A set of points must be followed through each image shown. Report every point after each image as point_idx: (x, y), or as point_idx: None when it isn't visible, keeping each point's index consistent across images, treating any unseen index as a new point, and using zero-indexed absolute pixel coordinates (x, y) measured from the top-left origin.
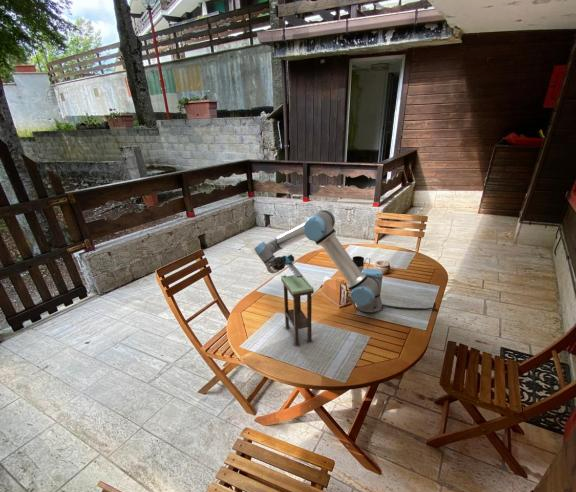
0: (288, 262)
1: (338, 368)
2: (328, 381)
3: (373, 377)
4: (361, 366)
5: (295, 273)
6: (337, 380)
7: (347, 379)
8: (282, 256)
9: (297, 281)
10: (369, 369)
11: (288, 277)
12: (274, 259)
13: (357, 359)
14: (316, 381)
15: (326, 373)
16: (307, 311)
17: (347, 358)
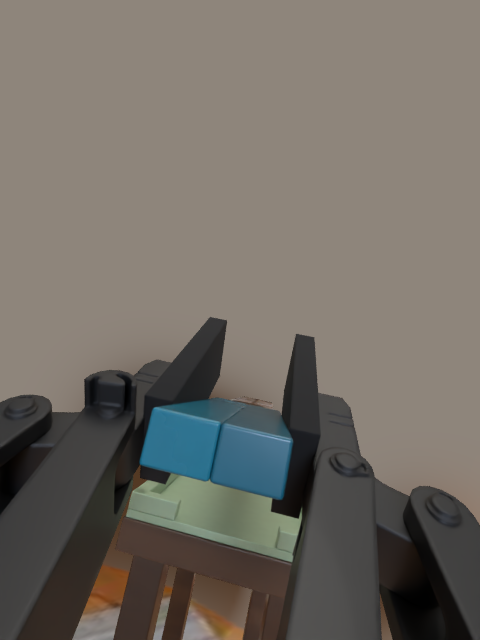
0: (252, 406)
1: (159, 627)
2: (215, 617)
3: (116, 570)
4: (103, 598)
5: (270, 403)
6: (193, 607)
7: (170, 596)
8: (315, 358)
9: (224, 487)
10: (98, 583)
11: (259, 531)
12: (470, 515)
13: (83, 616)
14: (243, 634)
15: (202, 635)
16: (189, 599)
17: (101, 635)
